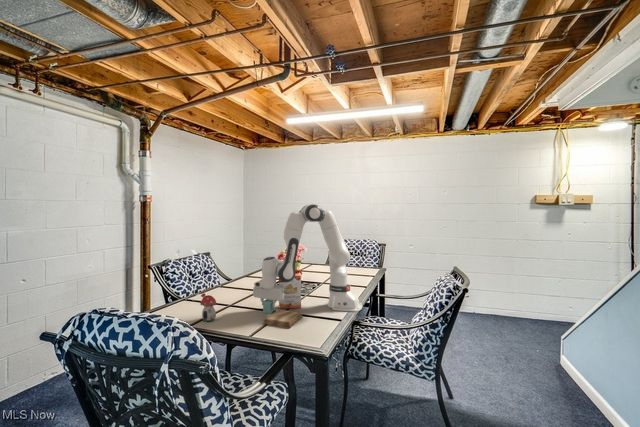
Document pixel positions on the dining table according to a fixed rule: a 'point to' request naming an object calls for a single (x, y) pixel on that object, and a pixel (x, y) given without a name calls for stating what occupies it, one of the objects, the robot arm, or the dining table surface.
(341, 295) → the robot arm
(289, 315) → the base
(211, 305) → the decorative ornament
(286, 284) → the cracker box
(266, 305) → the block
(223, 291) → the dining table surface
